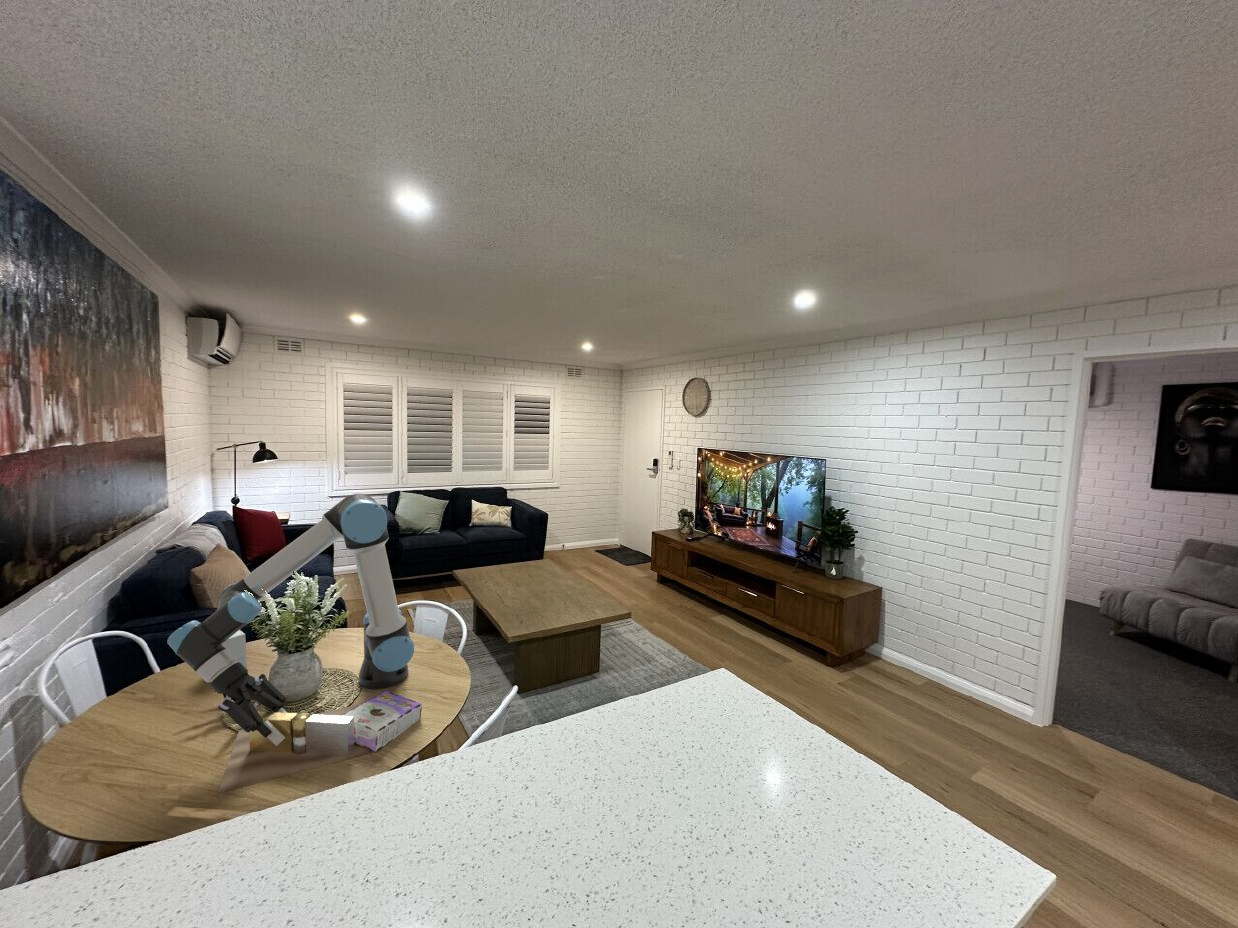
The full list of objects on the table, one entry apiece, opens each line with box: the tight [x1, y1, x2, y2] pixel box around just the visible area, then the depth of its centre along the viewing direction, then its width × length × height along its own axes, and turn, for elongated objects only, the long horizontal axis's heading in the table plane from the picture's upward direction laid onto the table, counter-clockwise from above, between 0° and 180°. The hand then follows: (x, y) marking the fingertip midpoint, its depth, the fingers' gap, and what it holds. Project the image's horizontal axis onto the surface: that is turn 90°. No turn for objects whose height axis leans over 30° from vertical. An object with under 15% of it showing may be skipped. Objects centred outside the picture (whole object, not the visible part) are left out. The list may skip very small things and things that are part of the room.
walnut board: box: [217, 703, 373, 794], centre depth 134 cm, size 25×32×1 cm
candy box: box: [342, 690, 423, 752], centre depth 141 cm, size 14×6×16 cm
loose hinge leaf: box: [249, 710, 311, 753], centre depth 131 cm, size 4×15×9 cm, turn 89°
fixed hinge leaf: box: [293, 713, 355, 756], centre depth 131 cm, size 4×15×9 cm, turn 88°
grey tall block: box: [222, 629, 248, 669], centre depth 170 cm, size 7×7×13 cm
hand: (288, 734), depth 131 cm, fingers open, 5 cm apart
